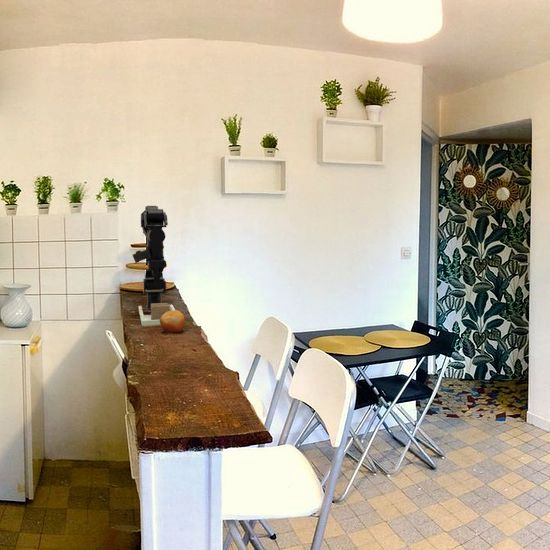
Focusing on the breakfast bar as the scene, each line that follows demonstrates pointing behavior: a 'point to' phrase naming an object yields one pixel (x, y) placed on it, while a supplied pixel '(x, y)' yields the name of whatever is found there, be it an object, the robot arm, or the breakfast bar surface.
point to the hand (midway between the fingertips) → (156, 283)
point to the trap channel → (147, 318)
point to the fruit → (172, 321)
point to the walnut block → (159, 310)
